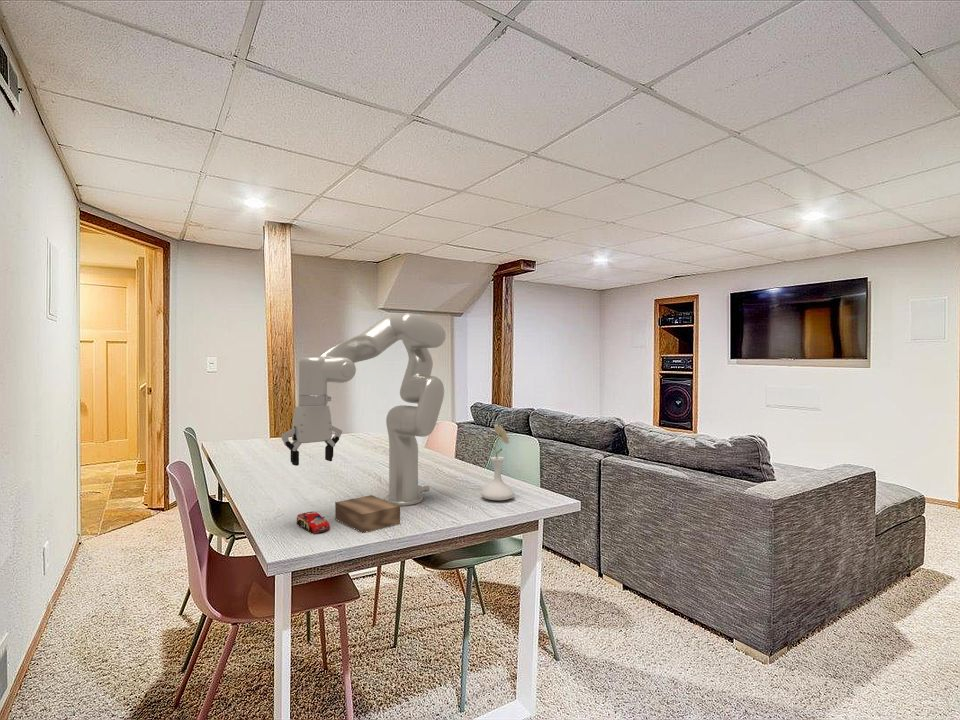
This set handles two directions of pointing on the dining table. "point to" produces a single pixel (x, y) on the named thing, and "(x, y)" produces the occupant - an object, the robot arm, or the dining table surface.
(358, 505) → the walnut riser block
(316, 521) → the race car
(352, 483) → the dining table surface
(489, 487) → the flower in vase
